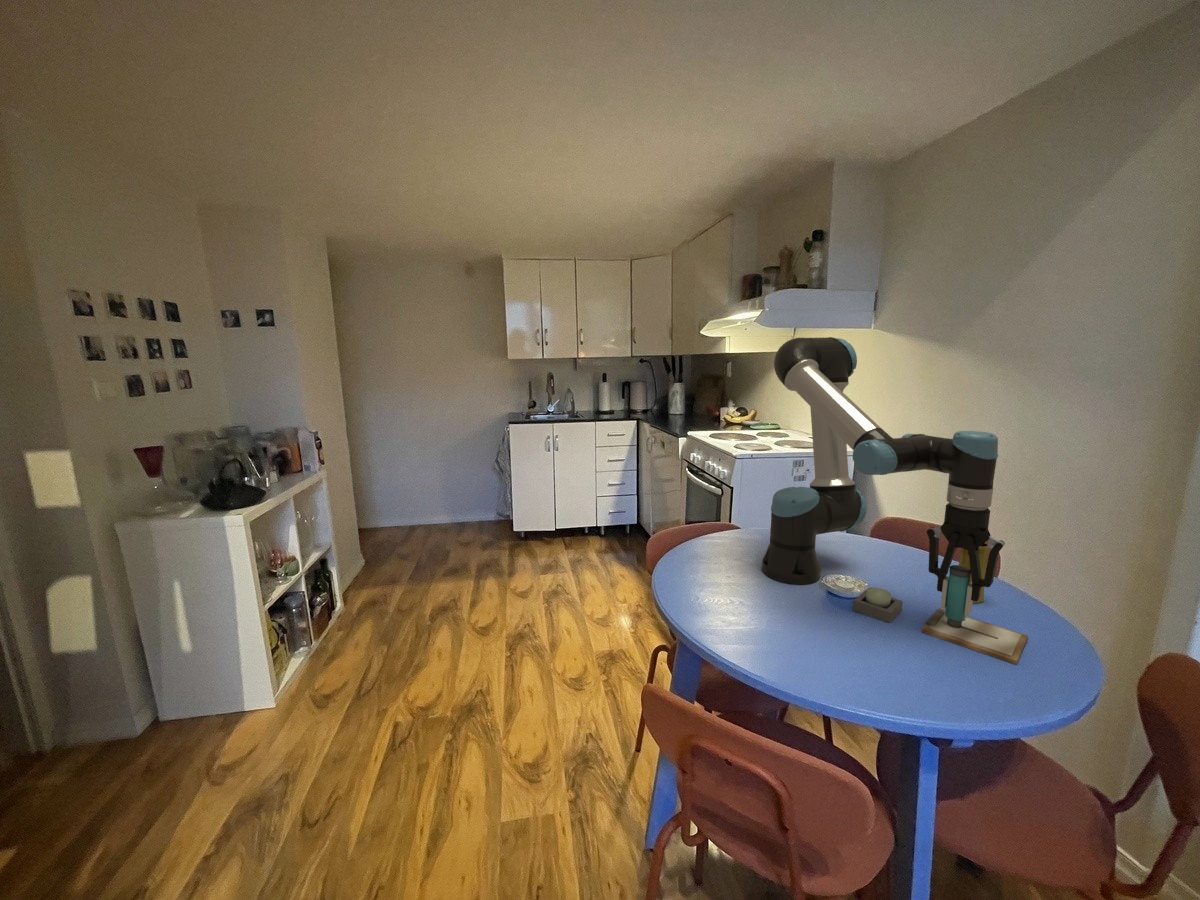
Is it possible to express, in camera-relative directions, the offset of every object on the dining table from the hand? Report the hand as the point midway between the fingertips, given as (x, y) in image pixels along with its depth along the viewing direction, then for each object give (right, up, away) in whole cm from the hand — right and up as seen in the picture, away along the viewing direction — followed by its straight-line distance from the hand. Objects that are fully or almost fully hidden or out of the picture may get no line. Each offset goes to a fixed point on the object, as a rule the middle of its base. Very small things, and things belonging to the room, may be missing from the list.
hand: (955, 609), depth 108 cm
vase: (+14, -2, +15) cm, 20 cm away
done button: (-12, -1, +9) cm, 15 cm away
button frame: (-12, -3, +9) cm, 15 cm away
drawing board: (+3, -5, -2) cm, 6 cm away
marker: (0, -4, +1) cm, 4 cm away
